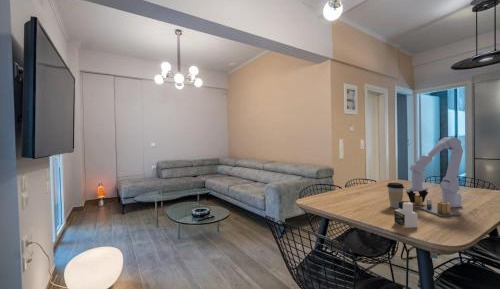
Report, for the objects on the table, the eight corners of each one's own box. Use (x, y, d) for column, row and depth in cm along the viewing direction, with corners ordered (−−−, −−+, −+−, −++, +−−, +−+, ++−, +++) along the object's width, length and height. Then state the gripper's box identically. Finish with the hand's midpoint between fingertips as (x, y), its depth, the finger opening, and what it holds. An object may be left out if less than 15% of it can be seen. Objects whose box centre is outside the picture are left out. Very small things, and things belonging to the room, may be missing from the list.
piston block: (430, 206, 147) (430, 196, 147) (460, 215, 130) (460, 204, 130) (414, 207, 146) (414, 197, 145) (442, 217, 128) (442, 205, 128)
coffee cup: (407, 209, 142) (407, 185, 142) (390, 208, 144) (390, 185, 144) (400, 205, 152) (400, 182, 151) (384, 204, 153) (384, 182, 153)
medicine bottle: (394, 223, 120) (394, 200, 120) (406, 222, 121) (406, 199, 121) (404, 228, 113) (404, 204, 113) (417, 227, 114) (417, 203, 114)
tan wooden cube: (417, 202, 156) (417, 194, 156) (424, 205, 150) (424, 196, 150) (409, 203, 155) (409, 195, 155) (417, 205, 150) (417, 197, 149)
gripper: (421, 180, 158) (421, 199, 158) (402, 181, 155) (402, 201, 156) (430, 182, 151) (430, 202, 151) (411, 183, 148) (411, 204, 149)
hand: (417, 202), depth 153 cm, fingers open, 7 cm apart
